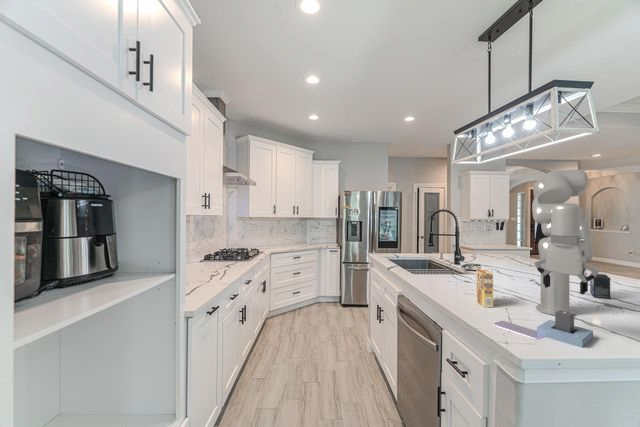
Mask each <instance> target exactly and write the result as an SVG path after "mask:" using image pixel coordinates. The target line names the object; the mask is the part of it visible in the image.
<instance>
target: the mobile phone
mask: <svg viewBox="0 0 640 427" xmlns="http://www.w3.org/2000/svg"><path fill="white" fill-rule="evenodd" d="M492 326H493V327H495V328H496V327H497V328H500V329H502V330H504V331H508V332H511V333H514V334H517V335H519V336H523V337H526V338H529V339H532V340H535V341H536V340H541V339H543V338H546V337H545V336H544V335H542V334H539V333H537V330H536V329H532V328H528V327H525V326H522V325H519V324H516V323H512V322H509V321H505V320H500V321H497V322H494V323H492Z"/></svg>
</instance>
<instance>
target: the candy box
mask: <svg viewBox="0 0 640 427" xmlns="http://www.w3.org/2000/svg"><path fill="white" fill-rule="evenodd" d="M476 301H477V303H478V304H479V305H481V306H482V307H484V308H494V274H493V272H492V271H489V270H488V269H482V268H481V269H476Z"/></svg>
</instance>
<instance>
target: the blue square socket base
mask: <svg viewBox="0 0 640 427" xmlns="http://www.w3.org/2000/svg"><path fill="white" fill-rule="evenodd" d="M536 331H537V333H539V334H542V335H544V336H545V337H544V338H548V339H552V340H555V341H558V342H562V343H566V344H569V345H573V346H576V347H579V348H584V347H585V346H586V345H587V344H588V343H589V342H590V341H591V340H593V338H594V330H592V329H589V328H584V327H580V326H577V325H574V334H571V333H568V332H564V331H560V330H556V329H555V320H552V319H548V320H547V321H545V322H543V323H541V324H540V325H538V326H536Z"/></svg>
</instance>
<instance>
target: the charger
mask: <svg viewBox="0 0 640 427" xmlns="http://www.w3.org/2000/svg"><path fill="white" fill-rule="evenodd" d="M554 317H555V319H554V321H555V329H556V330H560V331H564V332H568V333H571V334H574V326H575V312H574V313H570V312H566V311H561V310H559V311H557V312H555V315H554Z"/></svg>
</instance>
